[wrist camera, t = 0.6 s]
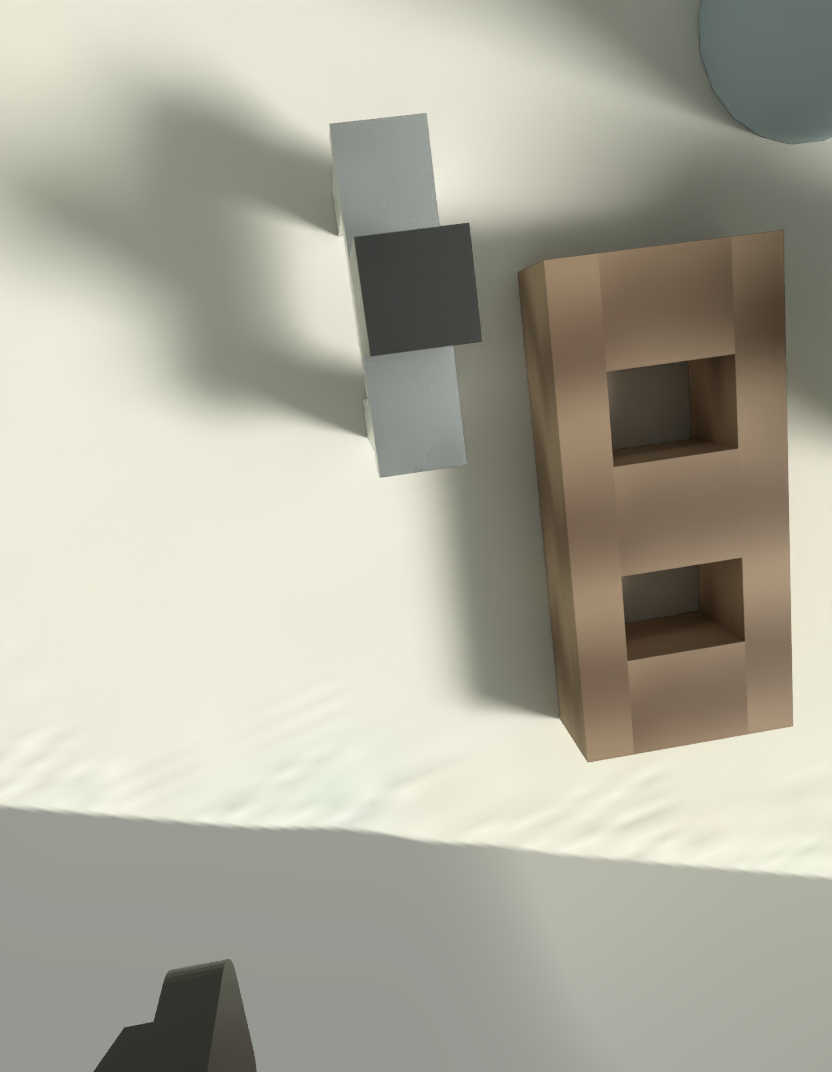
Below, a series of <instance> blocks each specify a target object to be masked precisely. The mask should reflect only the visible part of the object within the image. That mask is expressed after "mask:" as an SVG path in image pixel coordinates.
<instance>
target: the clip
mask: <svg viewBox="0 0 832 1072" xmlns="http://www.w3.org/2000/svg"><path fill="white" fill-rule="evenodd" d="M330 145H331V152H332V159H333V188H332V194H333V200H334V207H335V214H336V221H337V228H338V235H339V236H344V243H345V250H346V257H347V264H348V271H349V278H350V285H351V291H352V298H353V305H354V312H355V319H356V326H357V333H358V340H359V347H360V354H361V361H362V368H363V375H364V382H365V389H366V396H367V399H363V400H362V401H363V408H364V415H365V422H366V429H367V436H368V439H369V442H370V444H371V446H372V448H373V450H374V452H375V459H376V466H377V472H378V474H379V477H380V478H381V477H388V476H395V475H402V474H409V473H416V472H422V471H429V470H436V469H443V468H450V467H457V466H464V465H467V459H466V451H465V442H464V434H463V425H462V416H461V408H460V399H459V390H458V382H457V373H456V365H455V356H454V347H453V345H461V344H468V343H476V342H482V338H481V329H480V319H479V310H478V301H477V291H476V282H475V273H474V264H473V254H472V245H471V236H470V226H469V223H463V224H455V225H447V226H439V218H438V209H437V201H436V192H435V183H434V175H433V166H432V157H431V149H430V140H429V132H428V123H427V114H426V113H423V114H414V115H405V116H396V117H387V118H378V119H369V120H360V121H351V122H342V123H333V124H330Z"/></svg>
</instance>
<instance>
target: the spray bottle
mask: <svg viewBox="0 0 832 1072" xmlns="http://www.w3.org/2000/svg"><path fill="white" fill-rule="evenodd" d="M699 35H700V54H701V57H702V60H703V63H704V66H705V69H706V72H707V75H708V78H709V81H710V84H711V87H712V89H713V91H714V92H715V93H716V95H717V96H718V98H719V99H720V100H721V102H722V103H723V105H724V106H725V107H726V109H727V110H728V112H729V113H730V114H731V116H732V117H733V118H734V119H736V120H737V121H739V122H740V123H741V124H743V125H744V126H746V127H747V128H749V129H750V130H752V131H753V132H754V133H756V134H757V135H759V136H760V137H764V138H768V139H772V140H776V141H780V142H784V143H788V144H798V143H807V142H816V141H824V140H826V139H828V138H831V137H832V0H702V1H701V5H700V9H699Z"/></svg>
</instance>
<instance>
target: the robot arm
mask: <svg viewBox="0 0 832 1072" xmlns="http://www.w3.org/2000/svg"><path fill="white" fill-rule="evenodd" d="M94 1072H256V1062H255V1056H254V1051H253V1046H252V1042H251V1038H250V1033H249V1029H248V1024H247V1020H246V1016H245V1012H244V1007H243V1003H242V998H241V994H240V989H239V985H238V981H237V977H236V972H235V968H234V965H233V963H232V961H231V960H230V959H227V960H221V961H216V962H210V963H206V964H200V965H194V966H189V967H184V968H179V969H173V970H170V971H169V972H168V973H167V974H166V977H165V979H164V983H163V986H162V991H161V994H160V998H159V1003H158V1006H157V1011H156V1014H155V1019H154V1022H151V1023H145V1024H140V1025H135V1026H130V1027H125V1028H124V1029H123V1030H122V1032H121V1033H120V1035H119V1036H118V1037H117V1039H116V1040H115V1042H114V1043H113V1044H112V1046H111V1047H110V1049H109V1050H108V1052H107V1053H106V1055H105V1056H104V1057H103V1059H102V1060H101V1062H100V1063H99V1064H98V1066H97V1067H96V1069H95V1070H94Z"/></svg>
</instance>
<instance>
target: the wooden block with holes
mask: <svg viewBox="0 0 832 1072" xmlns="http://www.w3.org/2000/svg"><path fill="white" fill-rule="evenodd" d="M518 280H519V290H520V301H521V311H522V322H523V332H524V343H525V353H526V364H527V374H528V385H529V395H530V406H531V416H532V427H533V437H534V448H535V458H536V469H537V479H538V490H539V500H540V511H541V521H542V532H543V542H544V553H545V563H546V574H547V584H548V595H549V605H550V616H551V626H552V637H553V647H554V658H555V668H556V679H557V689H558V700H559V710H560V720H561V721H562V723H563V725H564V726H565V728H566V729H567V731H568V732H569V734H570V735H571V737H572V739H573V740H574V742H575V743H576V745H577V746H578V748H579V749H580V751H581V753H582V754H583V756H584V757H585V759H586V760H587V762H593V761H599V760H605V759H610V758H616V757H622V756H627V755H633V754H639V753H644V752H650V751H655V750H661V749H667V748H672V747H678V746H684V745H689V744H695V743H701V742H706V741H712V740H718V739H723V738H729V737H734V736H740V735H746V734H751V733H757V732H763V731H768V730H774V729H780V728H785V727H791V726H793V695H792V644H791V593H790V542H789V491H788V439H787V388H786V337H785V286H784V235H783V230H778V231H770V232H762V233H754V234H746V235H738V236H730V237H722V238H715V239H707V240H699V241H691V242H683V243H675V244H667V245H660V246H652V247H644V248H636V249H628V250H620V251H612V252H605V253H597V254H589V255H581V256H573V257H565V258H557V259H549V260H543V261H541V262H539V263H537V264H535V265H533V266H530V267H528V268H526V269H524V270H522V271H520V272H518ZM680 361H688V365H689V386H690V407H691V428H692V439H685V440H678V441H672V442H665V443H658V444H651V445H644V446H638V447H631V448H624V449H617V450H612V439H611V426H610V412H609V398H608V384H607V372H608V371H616V370H623V369H630V368H637V367H644V366H652V365H659V364H666V363H673V362H680ZM692 565H698V574H699V595H700V611H698V612H692V613H686V614H680V615H673V616H667V617H661V618H655V619H649V620H643V621H637V622H631V623H625V620H624V606H623V592H622V578H621V577H623V576H629V575H635V574H642V573H648V572H654V571H661V570H667V569H673V568H679V567H686V566H692Z"/></svg>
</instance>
